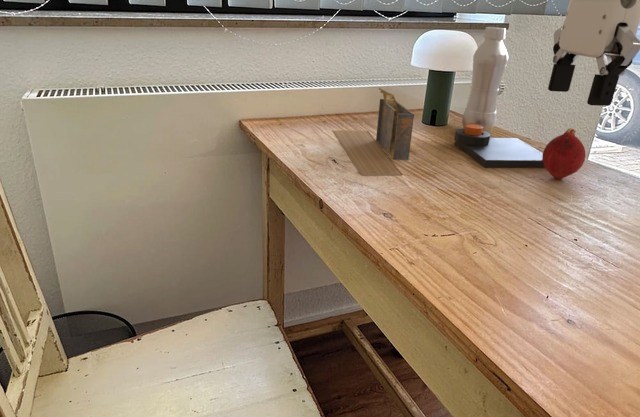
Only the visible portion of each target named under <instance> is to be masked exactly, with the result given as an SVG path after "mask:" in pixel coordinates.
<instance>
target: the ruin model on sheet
mask: <svg viewBox="0 0 640 417" xmlns="http://www.w3.org/2000/svg"><path fill="white" fill-rule="evenodd" d="M378 90H380V93H381V94H382V96H383V98H380V99H379V106H378V113H377V114H378V116H377V125H376V126H377V127H376V136H375V138H374V137H373V135H372V134H371V132H369V130H332V132H333V133H334V135H335V136H336V138H337V140H338V141H339V143H340V145H341V146H342V147H343V149H344V151H345V153H346V154H347V155H348V157H349V159H350V160H351V162H352V163H353V165H354V167H355V168H356V170H357V171H358V173H359V175H360V176H403V173H402V172H401V170H399V168H398V167H397V166H396V165H395V163H394V162H393V161H409V159H410V151H411V143H412V135H413V126H414V120H415V119H414V118H415V113H413V112H412V111H411V110H409V109H408V108H407V107H406V106H404V105H403V104H401V103H400V102H398V100H396V98H395V95H394V94H392V93H390V92H388V91H386V90H384V89H382V88H381V87H379V88H378ZM387 154H388V155H387Z"/></svg>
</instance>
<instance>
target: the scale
mask: <svg viewBox="0 0 640 417" xmlns="http://www.w3.org/2000/svg"><path fill="white" fill-rule="evenodd" d="M464 131H465V128H463V127H462V128H457V129H456V130H455V134H454V139H453V140H454V145H455V146H456V147H457V148H458V149H460V150H461V151H463V152H464V153H465V154H466V155H467V156H469V157H470V158H471V159H472V160H473V161H475V162H476V163H477V164H479V166H481V167H483V168H484V169H546V168H545V166H544V163H543V159H542V157H543V151H542V152H541V151H540V150H538V149H536V148H535V147H533V146H532V145H530V144H528V143H526V142H525V141H523V140H521V139H519V138H517V137H491V133H488V132H486V131H482V135H480V136H475V135H468V134H465V133H464Z"/></svg>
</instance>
